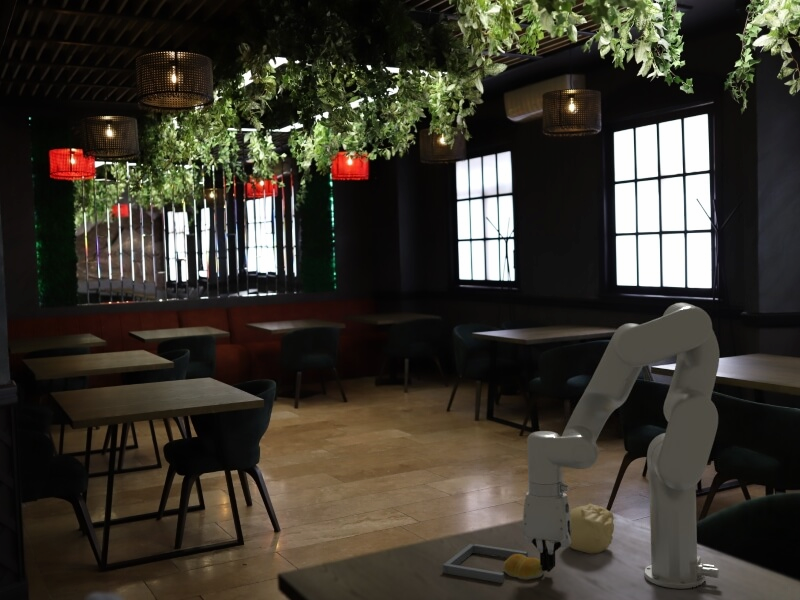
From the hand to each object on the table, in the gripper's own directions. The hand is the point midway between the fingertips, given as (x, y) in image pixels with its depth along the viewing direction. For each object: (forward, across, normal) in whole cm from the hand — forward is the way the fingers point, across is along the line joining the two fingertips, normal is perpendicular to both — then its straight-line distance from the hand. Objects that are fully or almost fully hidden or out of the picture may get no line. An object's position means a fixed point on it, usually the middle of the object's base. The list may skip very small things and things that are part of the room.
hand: (548, 569), depth 184 cm
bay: (+2, +15, 0) cm, 15 cm away
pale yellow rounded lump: (+2, -3, -20) cm, 20 cm away
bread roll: (+2, +6, 0) cm, 6 cm away
